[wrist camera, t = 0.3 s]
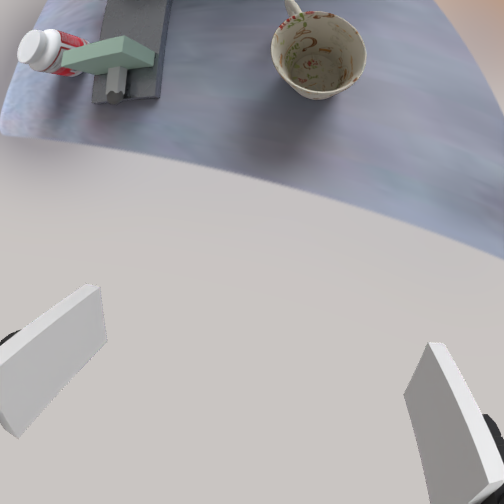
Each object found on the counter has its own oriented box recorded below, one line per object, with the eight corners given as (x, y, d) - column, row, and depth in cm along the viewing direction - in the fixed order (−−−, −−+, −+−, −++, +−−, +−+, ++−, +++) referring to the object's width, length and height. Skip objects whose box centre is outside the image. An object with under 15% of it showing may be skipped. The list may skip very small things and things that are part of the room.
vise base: (117, -14, 30) (85, -35, 22) (177, -28, 29) (152, -56, 21) (97, 104, 36) (58, 99, 28) (159, 97, 35) (125, 87, 27)
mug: (296, 119, 34) (293, 107, 24) (254, 31, 31) (237, -4, 21) (362, 97, 31) (382, 78, 22) (317, 9, 28) (319, -31, 19)
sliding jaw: (98, 61, 33) (63, 51, 26) (155, 51, 32) (124, 35, 24) (93, 108, 35) (56, 105, 28) (149, 102, 34) (116, 95, 27)
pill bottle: (67, 44, 34) (19, 31, 23) (97, 36, 33) (48, 18, 23) (61, 80, 36) (10, 73, 25) (90, 74, 35) (38, 63, 25)
